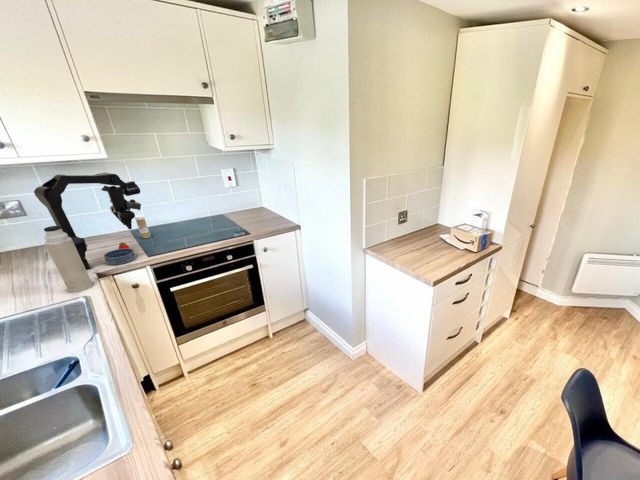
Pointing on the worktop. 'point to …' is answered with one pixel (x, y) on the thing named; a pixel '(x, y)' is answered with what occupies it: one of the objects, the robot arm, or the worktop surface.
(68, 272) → the thermos bottle
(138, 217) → the sprinkles bottle
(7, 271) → the worktop surface
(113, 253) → the bowl
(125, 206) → the robot arm
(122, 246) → the strawberry
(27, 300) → the worktop surface
